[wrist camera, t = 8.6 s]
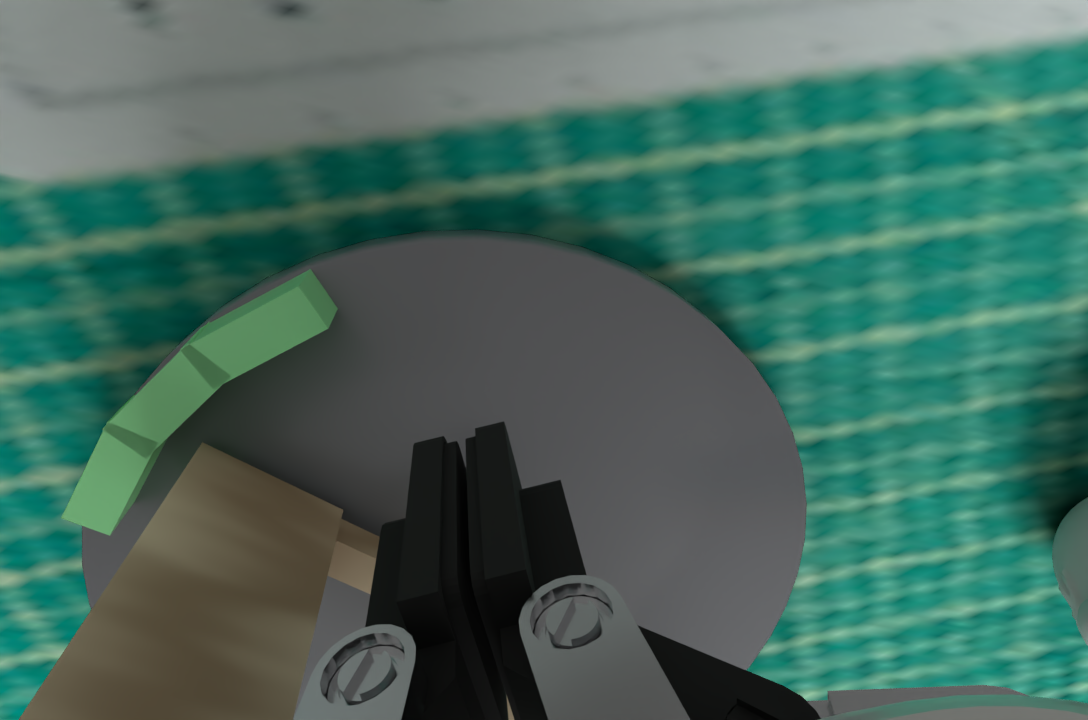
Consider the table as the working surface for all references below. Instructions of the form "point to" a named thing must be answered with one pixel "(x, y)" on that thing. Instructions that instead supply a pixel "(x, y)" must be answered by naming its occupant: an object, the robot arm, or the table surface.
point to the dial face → (483, 420)
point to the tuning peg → (211, 604)
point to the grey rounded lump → (1073, 563)
